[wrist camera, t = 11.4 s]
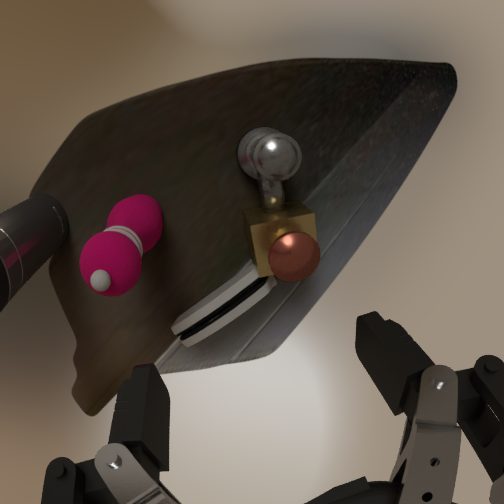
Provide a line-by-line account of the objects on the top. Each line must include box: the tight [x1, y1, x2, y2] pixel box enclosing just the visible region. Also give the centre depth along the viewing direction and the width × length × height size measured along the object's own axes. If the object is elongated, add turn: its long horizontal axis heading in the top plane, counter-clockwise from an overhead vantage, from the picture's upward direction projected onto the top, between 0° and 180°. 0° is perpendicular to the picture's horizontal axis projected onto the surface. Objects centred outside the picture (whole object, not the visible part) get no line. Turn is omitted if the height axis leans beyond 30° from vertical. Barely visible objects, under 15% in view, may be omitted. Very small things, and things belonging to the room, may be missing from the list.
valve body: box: [236, 127, 320, 282], centre depth 36 cm, size 8×18×11 cm, turn 10°
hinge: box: [171, 263, 278, 347], centre depth 43 cm, size 17×5×10 cm, turn 126°
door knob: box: [245, 133, 301, 181], centre depth 34 cm, size 5×5×7 cm
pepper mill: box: [80, 194, 163, 296], centre depth 31 cm, size 7×7×20 cm
